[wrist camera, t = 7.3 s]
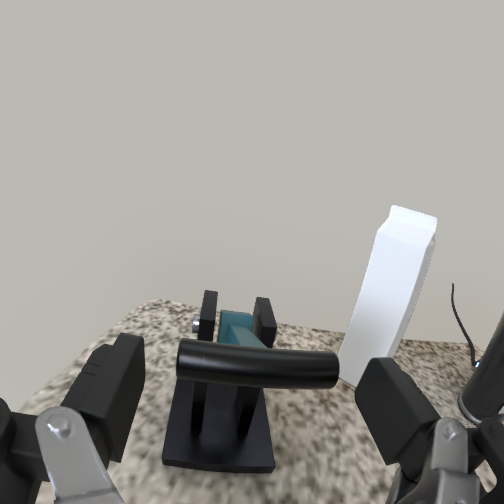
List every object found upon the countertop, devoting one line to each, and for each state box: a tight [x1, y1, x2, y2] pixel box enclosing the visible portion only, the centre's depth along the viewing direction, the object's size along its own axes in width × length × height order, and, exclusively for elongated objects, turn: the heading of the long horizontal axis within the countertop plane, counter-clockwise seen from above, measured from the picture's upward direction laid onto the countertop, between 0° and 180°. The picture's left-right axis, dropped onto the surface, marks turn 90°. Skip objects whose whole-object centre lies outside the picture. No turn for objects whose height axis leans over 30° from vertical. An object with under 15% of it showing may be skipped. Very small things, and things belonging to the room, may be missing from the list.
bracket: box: [162, 290, 277, 473], centre depth 21 cm, size 12×9×13 cm
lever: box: [176, 310, 340, 389], centre depth 15 cm, size 13×6×2 cm, turn 4°
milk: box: [337, 205, 437, 387], centre depth 30 cm, size 6×6×22 cm
